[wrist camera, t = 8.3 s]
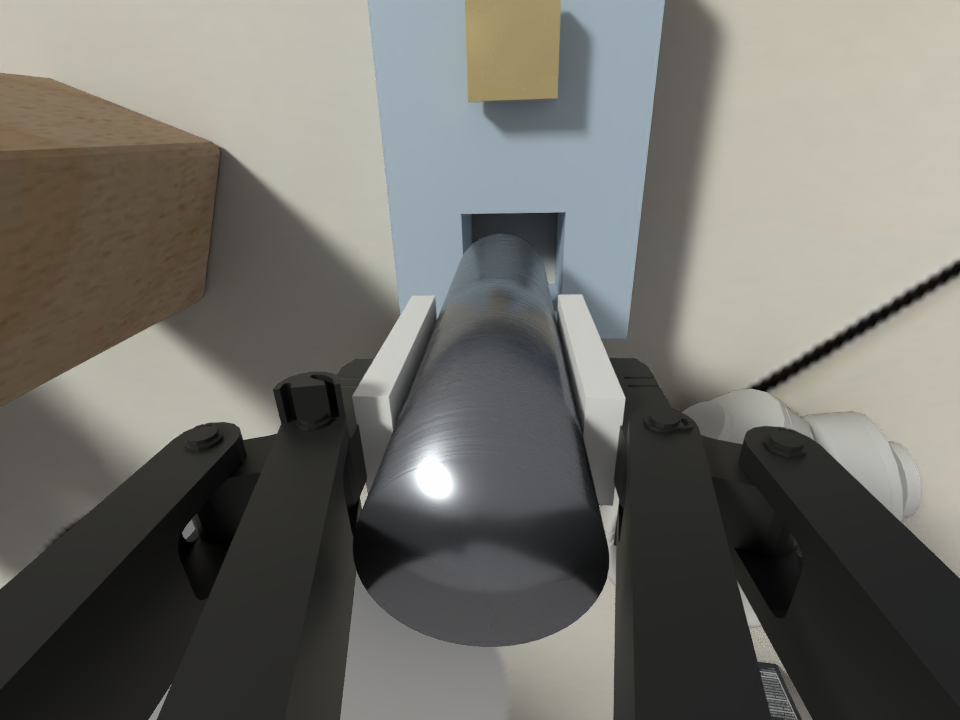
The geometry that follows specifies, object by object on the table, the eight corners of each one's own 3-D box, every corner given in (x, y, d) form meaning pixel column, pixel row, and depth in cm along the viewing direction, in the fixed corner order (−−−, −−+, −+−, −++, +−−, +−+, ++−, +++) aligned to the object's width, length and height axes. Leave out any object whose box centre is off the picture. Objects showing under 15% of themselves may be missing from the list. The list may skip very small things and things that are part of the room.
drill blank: (459, 319, 23) (369, 642, 9) (454, 234, 21) (333, 457, 7) (543, 319, 23) (599, 651, 8) (546, 232, 21) (622, 462, 7)
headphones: (655, 342, 30) (563, 535, 41) (687, 424, 24) (567, 627, 35) (937, 405, 31) (770, 579, 42) (1044, 503, 24) (812, 679, 35)
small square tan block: (479, 106, 25) (468, 101, 20) (477, 22, 23) (464, -8, 18) (549, 104, 24) (557, 98, 19) (552, 18, 23) (561, -13, 18)
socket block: (420, 307, 31) (402, 337, 26) (389, -50, 23) (358, -92, 19) (610, 307, 30) (626, 338, 25) (646, -65, 22) (677, -114, 18)
